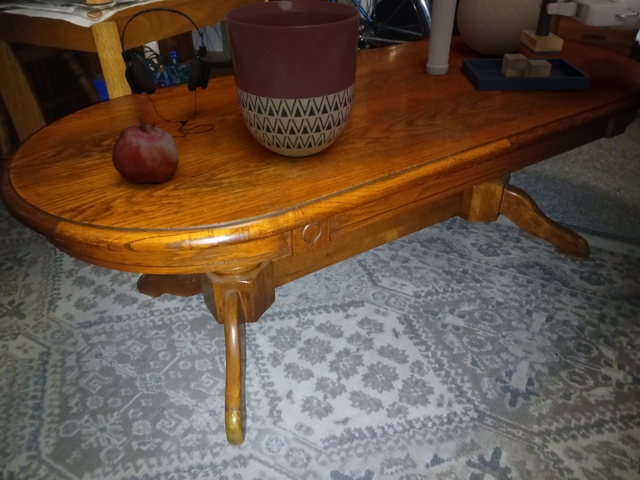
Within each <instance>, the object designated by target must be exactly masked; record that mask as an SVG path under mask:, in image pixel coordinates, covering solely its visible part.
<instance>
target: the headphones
mask: <svg viewBox="0 0 640 480" xmlns="http://www.w3.org/2000/svg"><path fill="white" fill-rule="evenodd" d="M151 12H169V13H174V14H178V15H180V16H182V17H184V18H185V19H187V20H188V21H189V22H190V23H191V24H192V25H193V27H195V29H196V31H197V33H198V34H199V36H200V41H201V45H199V46H198V56H199V57H198V56H195V55H193V56H192V59H191V62H190V66H189V72H188V77H187V90H188V91H190V92H195V93H194V101H195V104H194V107H195V108H194V109H195V113H194V117H193V119H195V118H196V116H197V89H201V90H206V89H207V88H208V87H209V81H210V76H211V69H212V67H211V64H210V63H209V62H205V60H204V58H206V57H207V53H208V52H207V51H208V50H207V48H208V47H207V46H206V45H205V43H204V32H203V31H200V29H199V27H198V25H197V24H196V23H195V22H194V21H193V19H192V18H190V17H189V16H188V15H187V14H185V13H184V12H181V11H179V10H177V9H175V8H170V7H159V6H158V7H150V8H146V9H142V10H140V11H139V12H137V13H135V14H133V15H132V16H131V17H130V18H129V19H128V20H127V22H126V24H125V26H124V27H123V31H122V34H121V36H120V37H119V38H120V42H121V49H122V51H121V53H120V55H121V57H122V60H123V62H124V63H129V67H127V68H126V69H124V77H125V80H126V82H127V84H128V86H129V87H130V89H131V90H132V92H133V93H134V94H136V95H142V94H143V93H145V94H146V95H147V97H148V99H149V101H150V102H151V104H152V106H153V108H154V110H155V112H156V114H157V115H158V116H159V117H161V118H162V119H163V120H164V121H166V122H169V120H168V119H165V118H164V117H163V116H162V115H161V114H160V113H159V112H158V111H157V109H156V106H155V105H154V103H153V101H152V99H151V97H150V96H149V95H154V94H155V93H156V92H157V87H156V83H155V81H154V79H153V76H152V74H151V72H150V71H149V69H148V67H147V66H146V64H145V63H144V62H143V61H142V60H139V59H136V60H135V61H133V57H132V54H131V52H130V50H127V48H126V44H125V41H124V37H125V32H126V29H127V27H128V26H129V24H130V22H131V21H132V20H134V18H136V17H138V16H140V15H143V14H147V13H151ZM200 57H201V58H200ZM132 61H133V63H132ZM190 119H191V117H188V118H187V119H185V120H177V122H179V123H180V124H182V125H181V126H180V127H179V128H178V131H179V132H180V133H181V134H184V135H181V136H179V138H185V137H186V136H187V134H188V135H189V134H190V132H189V131H190V130H192V129H195V128H198V127H203V126H205V124H199V125H196V126H192V127H191V128H189V129H188V130H186V133H187V134H185V132H184V131H181V130H180V129H181V128H182V127H183V126H185V125H186V124H187V123H188V120H190ZM207 126H213V127H211V128H209V129H207V130H204V131H197V132H195V131H194V134H200V133H205V132H209V131H211V130H213V129H214V127H215V125H214V124H210V123H209V124H207ZM171 136H172V137H173V138H178V136H176V135H171Z"/></svg>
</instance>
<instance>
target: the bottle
mask: <svg viewBox="0 0 640 480" xmlns="http://www.w3.org/2000/svg"><path fill="white" fill-rule="evenodd" d="M456 7H457V0H432V5H431V17H430V31H429V32H430V33H429V41H428V53H427V54H428V56H427V62H426V63H425V64H426V65H425V70H426V73H427V74H428V75H431V76H442V75H446V74H448V71H449V63H448V62H449V56H450V49H451V43H452V37H453V36H452V35H453V29H454V23H455V21H454V20H455V14H456Z"/></svg>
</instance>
